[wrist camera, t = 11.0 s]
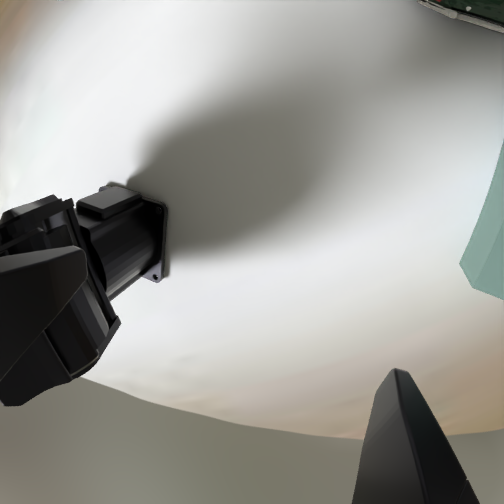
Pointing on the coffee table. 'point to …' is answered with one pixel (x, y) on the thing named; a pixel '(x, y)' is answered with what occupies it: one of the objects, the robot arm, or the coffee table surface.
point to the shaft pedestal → (488, 240)
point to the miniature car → (471, 11)
